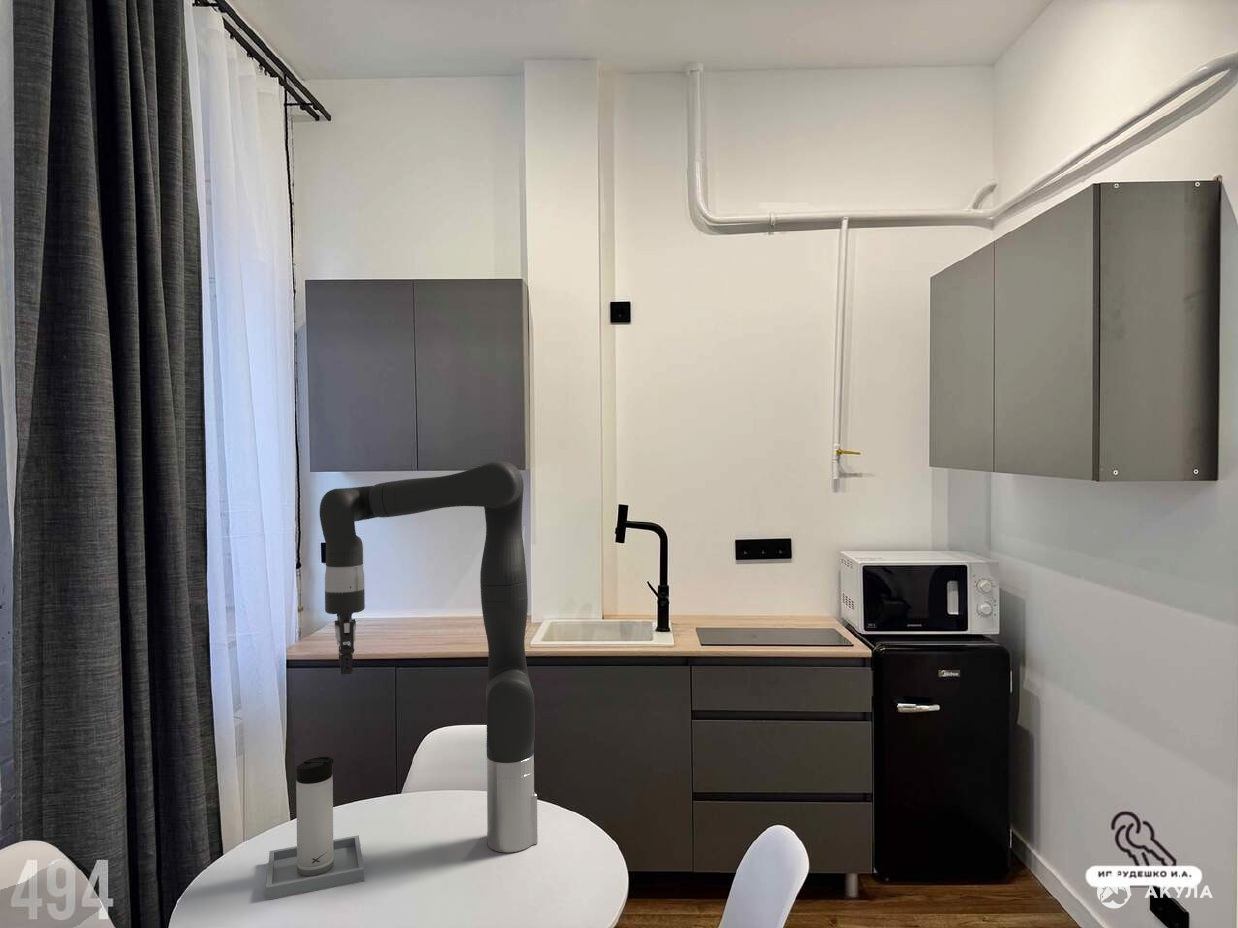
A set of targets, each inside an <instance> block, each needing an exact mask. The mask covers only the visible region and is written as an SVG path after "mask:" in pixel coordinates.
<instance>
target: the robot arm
mask: <svg viewBox="0 0 1238 928" xmlns="http://www.w3.org/2000/svg"><path fill="white" fill-rule="evenodd" d="M524 485H525V484H524V478H523V475H522V473H521V471H520V470H519V469H518V467H517V466H515V465H514V464H512V463H511V462H508V461H504V460H501V461H500V460H499V461H498V460H497V461H496V460H495V461H489V462H487V463H483V464H481V465H480V466H477V467H473V468H470V469H467V470H464V471H460V472H457V473H452V474H448V475H447V474H446V475H443V476H441V475H440V476H435V477H422V478H420V477H419V478H417V477H416V478H409V479H407V478H406V479H400V480H392V481H385V482H380V483H377V484H374V485H368V486H367V485H366V486H357V487H344V488H342V487H341V488H333V489H330V490H329V491H327V492H326V493H325V494H324V495H323V496H322V498H321V500H320V503H319V520H320V526H321V530H322V534H323V538H324V539H323V540H324V541H325V573H324V611H325V613H327V614H329V615H336V617H337V620H334V621H333V622H334V632H335V639H336V645H337V646H338V664H339V665H340V674H341V675H343V676H344V675H345V676H346V675H351V674H353V671H354V670H353V668H354V667H353V657H354V653H355V647H354V646H355V644H356V631H357V621H356V618H353V617H352V616H353V614H355V613H356V614H357V613H360V612H363V611H364V610H365V607H366V604H365V600H366V599H365V595H366V594H365V592H366V591H365V570H364V544H363V541H362V539H361V538H360V537H359V536H358V535H357V532H356V525H355V522H361V521H365V520H371V519H376V518H383V519H384V518H394V517H400V516H408V515H413V514H420V513H425V512H429V511H433V510H438V509H445V508H453V507H456V508H457V507H480V508H481V507H482V508H483V509H484V518H485V541H484V545H483V551H482V556H481V557H482V558H481V565H480V575H479V578H480V579H479V582H480V601H481V602H480V603H481V610H482V611H481V612H482V613H481V614H482V618H483V625H484V626H483V627H484V630H485V635H486V640H487V641H486V642H487V648H488V649H487V650H488V651H487V652H488V658H487V659H488V660H487V661H488V662H487V663H488V665H487V680H486V681H487V682H486V688H485V700H486V703H485V704H486V705H485V706H486V707H485V709H486V809H487V810H486V811H487V812H486V813H487V814H486V815H487V816H486V819H487V820H486V821H487V823H486V824H487V825H486V827H487V828H486V830H487V831H486V833H487V834H486V835H487V846H488V847H489V849H491V850H493V851H496V852H499V853H514V852H515V853H516V852H521V851H523V850H526V849H528V848H530V847H531V846H533V845H537V844H538V839H539V838H538V795H537V793H536V792H535V771H534V770H535V763H534V761H535V760H534V759H535V758H534V753H535V752H534V749H535V746H534V744H535V738H536V737H535V727H536V725H535V724H536V723H535V716H536V715H535V711H536V709H535V708H536V707H535V695H534V691H533V687H532V685H531V680H530V677H529V676H530V675H529V671H528V666H527V658H526V647H525V638H526V629H527V621H528V607H529V605H528V604H529V603H528V602H529V596H528V595H529V594H528V581H527V580H528V577H527V576H528V575H527V567H526V555H525V546H524V539H523V527H522V525H523V524H522V523H523V522H522V520H523V502H524V487H525V486H524Z"/></svg>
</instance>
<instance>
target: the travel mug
mask: <svg viewBox="0 0 1238 928" xmlns="http://www.w3.org/2000/svg"><path fill="white" fill-rule="evenodd" d="M333 764H334V759H333V758H332V757H331V756H318V757H313V758H309V759H307V760H304V761H303V763H300V764H298V765H296V772H295V773H296V778H295V779H296V781H295V783H296V786H295V787H296V789H295V790H296V793H295V794H296V795H295V796H296V798H295V799H296V846H297V872H298V873H299V874H301V875H303V876H316V875H320V874H323V873H325V872H327V871H328V870H330V869H331V868H332V866H333V864H334V857H333V840H334V789H333V787H334V783H333Z"/></svg>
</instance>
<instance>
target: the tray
mask: <svg viewBox="0 0 1238 928" xmlns="http://www.w3.org/2000/svg"><path fill="white" fill-rule="evenodd" d="M333 857H334V864H333V866H332V868H331V869H330V870H328V871H327V872H325V873H323V874H320V875H316V876H303V875H301V874H299V873H298V872H297V845H296V846H291V847H286V848H285V847H284V848H280V849H278V848H277V849H272V850H269V853H268V862H267V874H266V875H267V877H266V886H265V888H266V889H265V890H266V891H265V892H266V894H265V895H266V896H265V898H266V901H271V900H275V899H280V898H284V897H285V898H286V897H291V896H296V895H301V894H306V893H312V892H316V891H321V890H322V891H323V890H326V889H327V890H328V889H332V888H337V887H341V886H348V885H351V884H352V885H353V884H357V883H362V882H364V881H365V868H364V860H363V854H362V848H361V840H360V835H359V834H357V835H353V836H347V837H341V838H335V839H333Z"/></svg>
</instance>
